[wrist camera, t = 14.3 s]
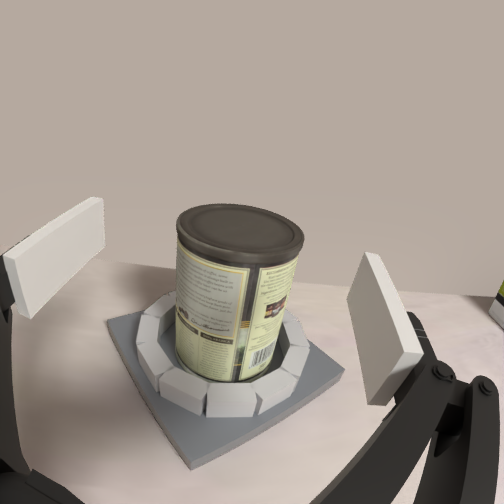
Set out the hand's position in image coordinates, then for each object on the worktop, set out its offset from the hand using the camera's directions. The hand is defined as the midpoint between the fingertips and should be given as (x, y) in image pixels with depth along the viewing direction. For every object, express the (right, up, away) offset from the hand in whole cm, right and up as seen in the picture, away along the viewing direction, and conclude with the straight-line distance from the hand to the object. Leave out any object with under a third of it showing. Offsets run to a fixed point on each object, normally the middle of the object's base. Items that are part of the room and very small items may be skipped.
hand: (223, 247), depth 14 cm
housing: (-2, -12, +17) cm, 21 cm away
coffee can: (-2, -11, +17) cm, 20 cm away
